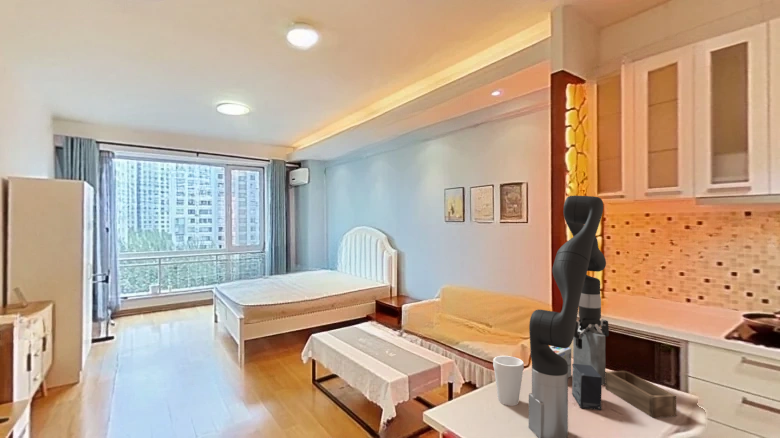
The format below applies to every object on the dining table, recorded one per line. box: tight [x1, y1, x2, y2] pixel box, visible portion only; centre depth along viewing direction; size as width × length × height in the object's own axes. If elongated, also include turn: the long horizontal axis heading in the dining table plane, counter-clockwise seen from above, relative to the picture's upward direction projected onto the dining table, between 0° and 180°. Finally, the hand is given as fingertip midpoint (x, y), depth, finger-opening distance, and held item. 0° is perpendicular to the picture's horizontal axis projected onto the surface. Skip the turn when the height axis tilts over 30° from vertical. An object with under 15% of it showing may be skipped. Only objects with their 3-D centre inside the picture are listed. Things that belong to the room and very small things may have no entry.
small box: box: [571, 363, 603, 411], centre depth 124 cm, size 11×6×10 cm, turn 168°
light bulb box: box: [549, 345, 572, 378], centre depth 144 cm, size 11×7×11 cm, turn 130°
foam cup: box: [492, 355, 525, 406], centre depth 124 cm, size 10×9×13 cm
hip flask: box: [572, 324, 606, 386], centre depth 145 cm, size 16×4×20 cm, turn 9°
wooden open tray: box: [604, 370, 677, 419], centre depth 124 cm, size 8×20×6 cm, turn 8°
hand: (589, 347), depth 145 cm, fingers open, 8 cm apart
